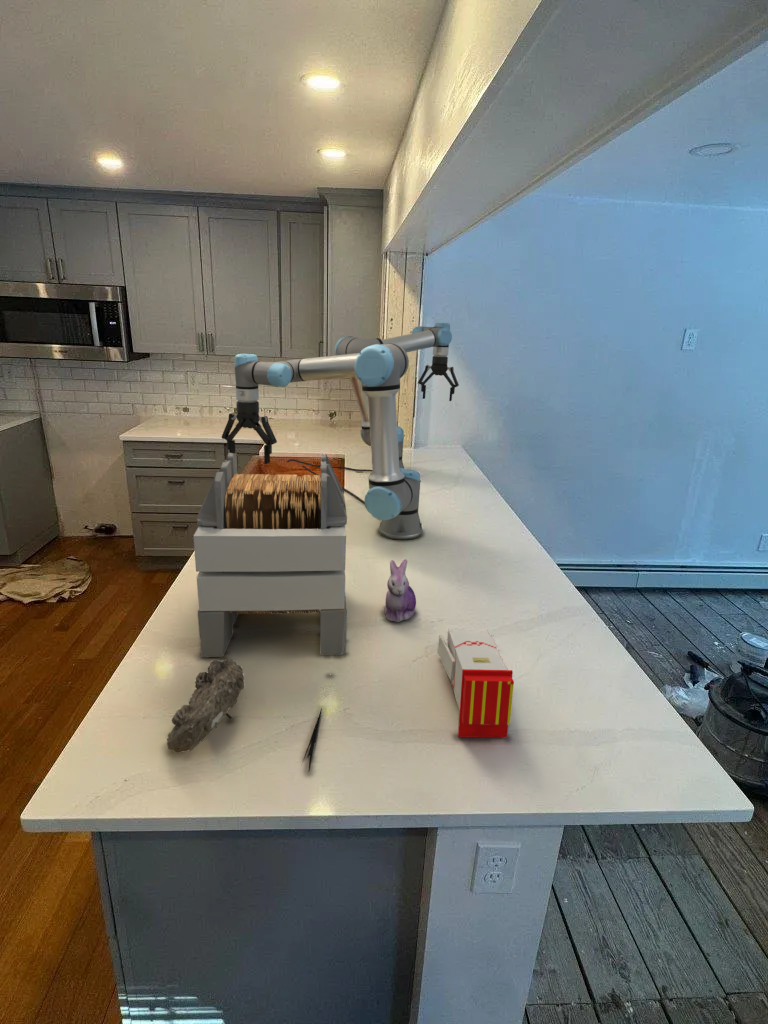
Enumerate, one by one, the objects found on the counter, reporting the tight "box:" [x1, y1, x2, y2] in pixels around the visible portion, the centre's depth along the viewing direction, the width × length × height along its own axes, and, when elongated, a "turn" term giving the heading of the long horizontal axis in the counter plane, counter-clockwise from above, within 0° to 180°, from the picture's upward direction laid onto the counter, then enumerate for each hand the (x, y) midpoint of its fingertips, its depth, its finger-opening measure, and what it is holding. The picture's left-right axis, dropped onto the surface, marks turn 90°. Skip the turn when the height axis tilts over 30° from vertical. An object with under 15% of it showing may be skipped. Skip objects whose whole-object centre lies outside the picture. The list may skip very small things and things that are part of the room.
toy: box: [437, 628, 515, 738], centre depth 117 cm, size 12×13×30 cm
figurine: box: [384, 558, 417, 623], centre depth 145 cm, size 9×10×15 cm
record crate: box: [193, 452, 348, 659], centre depth 136 cm, size 34×33×41 cm
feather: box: [301, 673, 332, 771], centre depth 108 cm, size 2×28×2 cm
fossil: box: [166, 658, 245, 754], centre depth 106 cm, size 22×10×15 cm
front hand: (249, 461), depth 201 cm, fingers open, 13 cm apart
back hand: (437, 399), depth 285 cm, fingers open, 13 cm apart
